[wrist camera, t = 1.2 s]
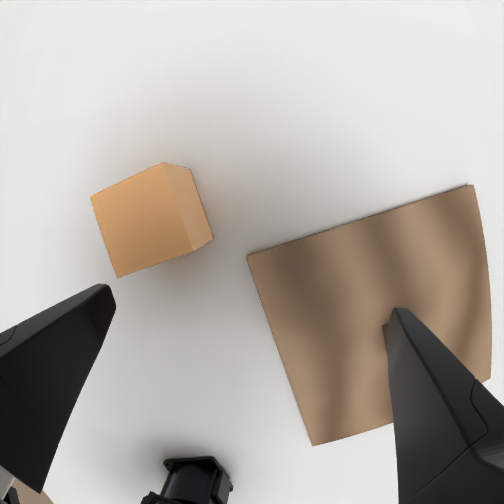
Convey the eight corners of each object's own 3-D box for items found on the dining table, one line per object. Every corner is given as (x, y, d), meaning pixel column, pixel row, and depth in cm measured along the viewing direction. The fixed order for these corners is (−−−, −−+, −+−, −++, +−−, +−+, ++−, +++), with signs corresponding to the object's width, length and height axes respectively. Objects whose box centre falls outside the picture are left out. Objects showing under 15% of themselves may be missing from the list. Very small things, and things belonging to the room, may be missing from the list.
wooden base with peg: (311, 439, 28) (316, 498, 20) (247, 255, 25) (232, 282, 17) (486, 373, 25) (523, 413, 17) (467, 184, 22) (525, 184, 14)
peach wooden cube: (150, 260, 26) (117, 278, 20) (128, 195, 25) (89, 196, 19) (213, 238, 25) (193, 251, 19) (190, 169, 24) (163, 162, 18)
